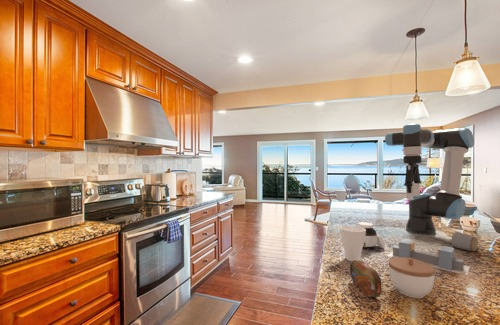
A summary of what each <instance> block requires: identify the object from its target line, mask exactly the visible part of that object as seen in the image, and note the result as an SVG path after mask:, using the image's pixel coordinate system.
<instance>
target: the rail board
mask: <svg viewBox="0 0 500 325" xmlns="http://www.w3.org/2000/svg"><path fill="white" fill-rule="evenodd" d="M388 257H390V258H395V257H399V245H393V246H392V251H390V253H389V254H387V255H386V258H388ZM410 258H413V259H416V260H420V261H423V262H426V263H428V264H430V265H431V266H433V267H434V269H439V270H443V271H448V272H452V273H456V274H458V275H459V274H460V275H463V276H468V274H469V271H470V268H471V266H470V265H469V266H468V265H466V264H465V265H464V260H463V259H460V258H455V257H454V258H453V260H452V271H451V270H447V269H443V268H439V257H438V253H437V254H436V253H431V252H427V251H423V250H417V249H414V250H412V251H410Z"/></svg>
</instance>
